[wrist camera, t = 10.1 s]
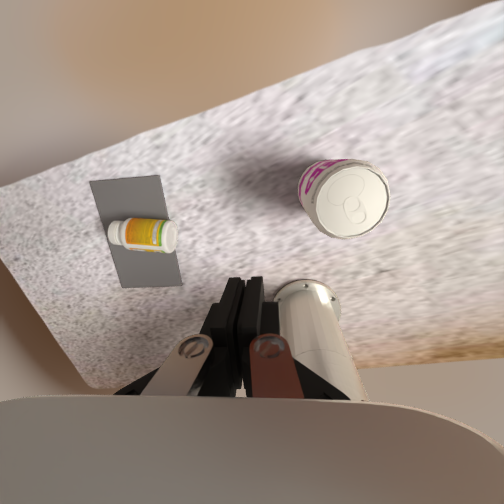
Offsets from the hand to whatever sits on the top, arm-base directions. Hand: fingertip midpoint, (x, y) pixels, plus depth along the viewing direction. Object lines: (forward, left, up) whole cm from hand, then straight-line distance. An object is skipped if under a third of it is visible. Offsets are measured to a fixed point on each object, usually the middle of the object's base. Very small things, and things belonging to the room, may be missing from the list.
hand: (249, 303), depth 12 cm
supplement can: (+2, -9, -29) cm, 31 cm away
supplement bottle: (-4, +15, -26) cm, 30 cm away
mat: (-4, +23, -29) cm, 37 cm away
